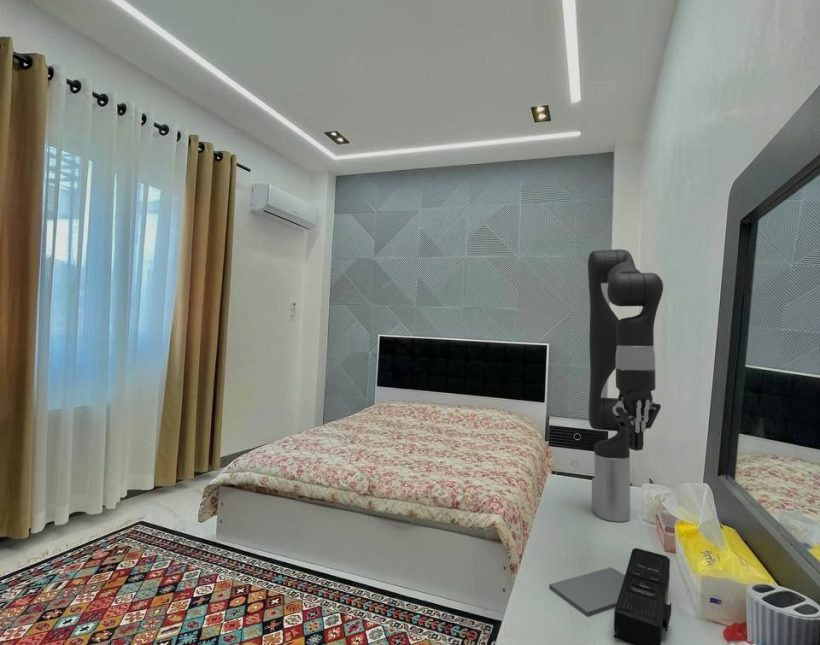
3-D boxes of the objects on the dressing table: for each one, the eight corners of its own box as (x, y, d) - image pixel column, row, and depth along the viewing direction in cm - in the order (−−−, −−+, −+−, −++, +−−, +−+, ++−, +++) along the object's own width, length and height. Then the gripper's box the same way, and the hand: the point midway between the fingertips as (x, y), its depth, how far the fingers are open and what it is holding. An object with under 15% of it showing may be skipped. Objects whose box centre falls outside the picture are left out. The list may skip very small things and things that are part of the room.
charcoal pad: (549, 588, 90) (549, 584, 90) (611, 570, 97) (611, 567, 97) (587, 616, 81) (587, 612, 81) (652, 595, 88) (652, 591, 88)
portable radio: (675, 556, 90) (666, 629, 69) (675, 586, 90) (666, 668, 69) (632, 545, 94) (611, 610, 73) (631, 573, 94) (610, 647, 73)
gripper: (641, 365, 101) (642, 442, 101) (597, 366, 96) (598, 448, 95) (673, 367, 94) (673, 450, 94) (627, 369, 89) (628, 457, 88)
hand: (635, 449), depth 94 cm, fingers closed
